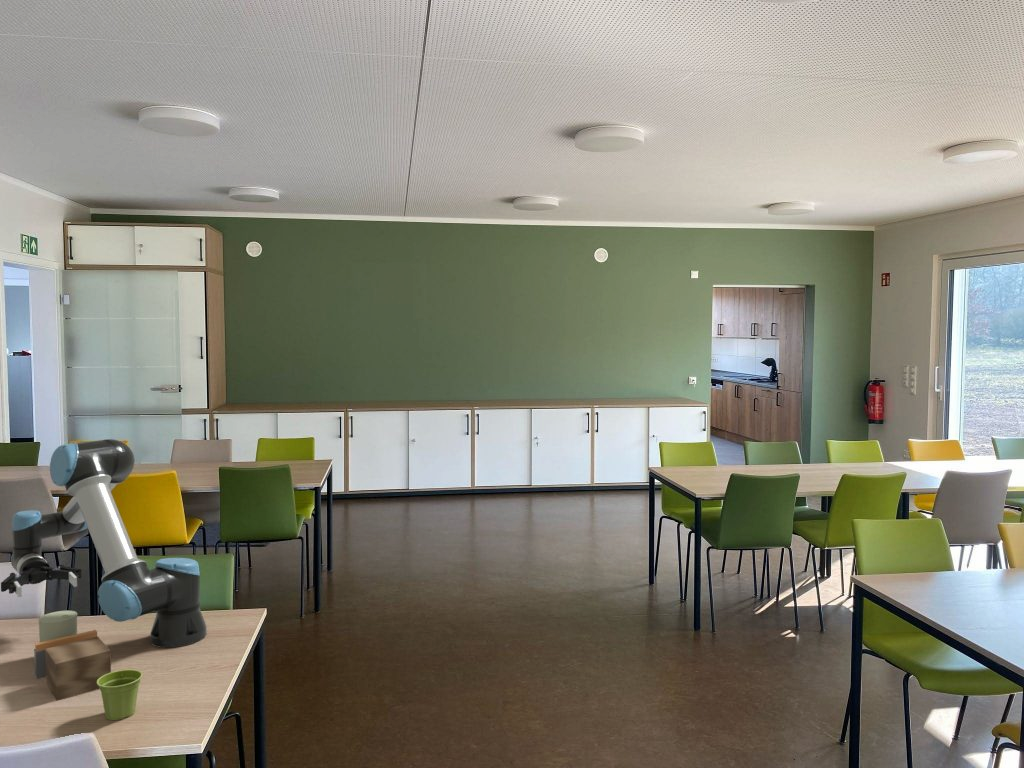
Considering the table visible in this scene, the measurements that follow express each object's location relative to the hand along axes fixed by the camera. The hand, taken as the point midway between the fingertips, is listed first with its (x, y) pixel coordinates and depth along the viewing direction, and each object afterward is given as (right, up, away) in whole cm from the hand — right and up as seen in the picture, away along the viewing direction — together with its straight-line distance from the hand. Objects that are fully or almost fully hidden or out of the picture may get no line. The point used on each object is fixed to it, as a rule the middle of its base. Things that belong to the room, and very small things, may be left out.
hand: (48, 587), depth 212 cm
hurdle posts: (+14, -18, -14) cm, 27 cm away
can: (+7, -18, -7) cm, 20 cm away
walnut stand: (+22, -18, -23) cm, 37 cm away
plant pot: (+40, -20, -38) cm, 58 cm away
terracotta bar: (+14, -11, -14) cm, 23 cm away
